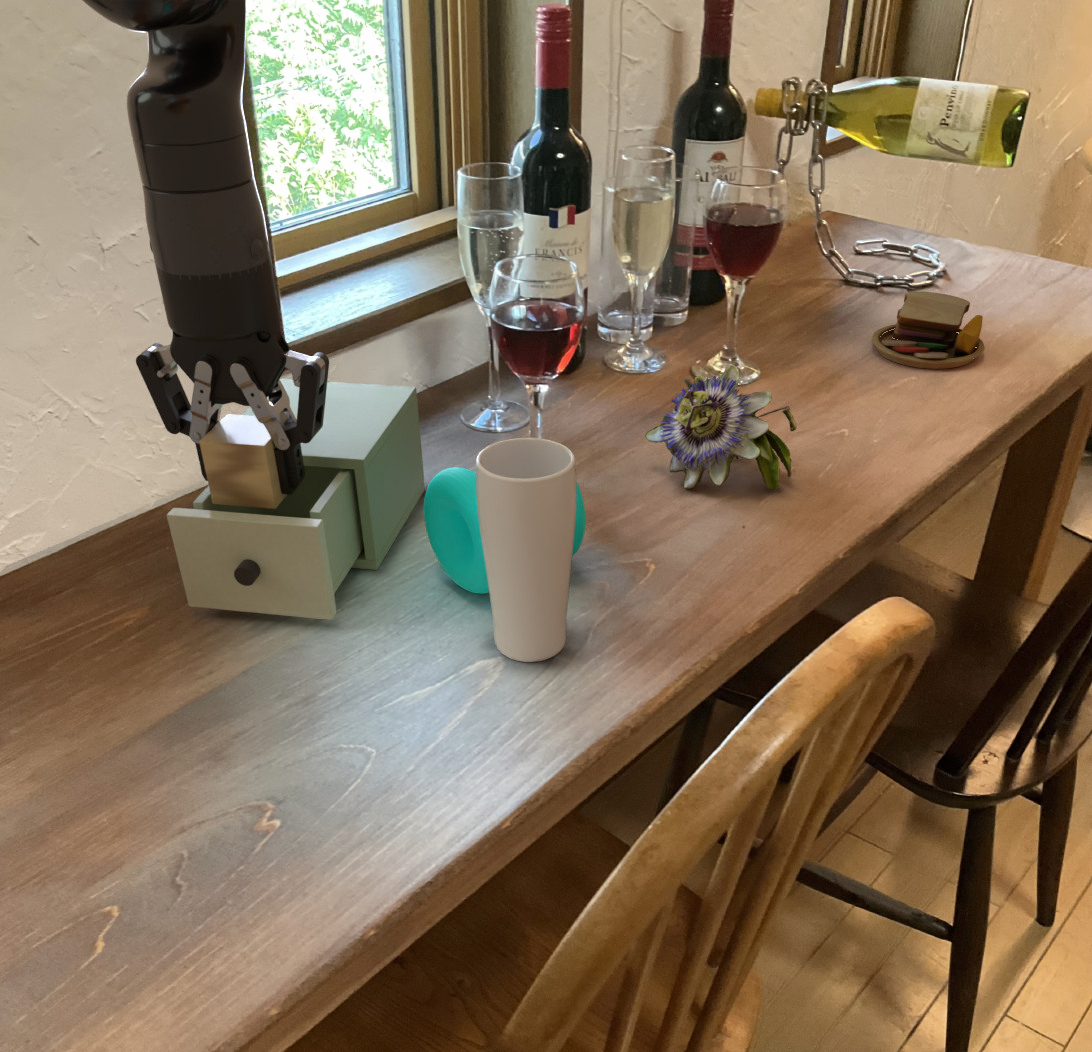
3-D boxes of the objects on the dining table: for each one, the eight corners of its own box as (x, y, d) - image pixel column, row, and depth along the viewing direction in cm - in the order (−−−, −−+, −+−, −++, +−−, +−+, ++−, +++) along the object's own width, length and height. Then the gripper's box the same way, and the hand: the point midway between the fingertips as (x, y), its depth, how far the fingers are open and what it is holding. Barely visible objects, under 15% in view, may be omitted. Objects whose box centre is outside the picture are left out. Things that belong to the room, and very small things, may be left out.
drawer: (326, 629, 84) (311, 535, 80) (181, 615, 86) (158, 522, 81) (384, 534, 96) (374, 446, 91) (256, 523, 98) (239, 437, 93)
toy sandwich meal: (855, 359, 128) (861, 317, 125) (891, 324, 137) (899, 284, 134) (965, 379, 123) (975, 336, 120) (996, 341, 132) (1006, 300, 129)
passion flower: (689, 538, 107) (619, 435, 103) (736, 475, 113) (672, 374, 109) (784, 506, 99) (712, 391, 94) (829, 439, 105) (764, 328, 100)
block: (212, 504, 84) (198, 441, 81) (238, 474, 88) (226, 413, 85) (275, 509, 84) (264, 445, 80) (299, 479, 87) (289, 417, 84)
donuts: (592, 577, 92) (593, 463, 85) (491, 619, 87) (485, 501, 81) (519, 531, 98) (516, 421, 92) (422, 567, 93) (411, 454, 87)
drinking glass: (470, 660, 83) (457, 470, 73) (507, 613, 88) (499, 430, 78) (555, 679, 81) (553, 487, 71) (588, 630, 85) (591, 444, 76)
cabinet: (377, 570, 93) (363, 459, 87) (231, 557, 95) (208, 448, 89) (425, 489, 104) (416, 386, 98) (293, 479, 106) (277, 378, 100)
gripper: (333, 242, 77) (361, 472, 87) (138, 233, 79) (188, 459, 90) (294, 275, 71) (329, 518, 82) (85, 265, 73) (145, 502, 84)
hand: (255, 486), depth 86 cm, fingers closed on block, 5 cm apart
